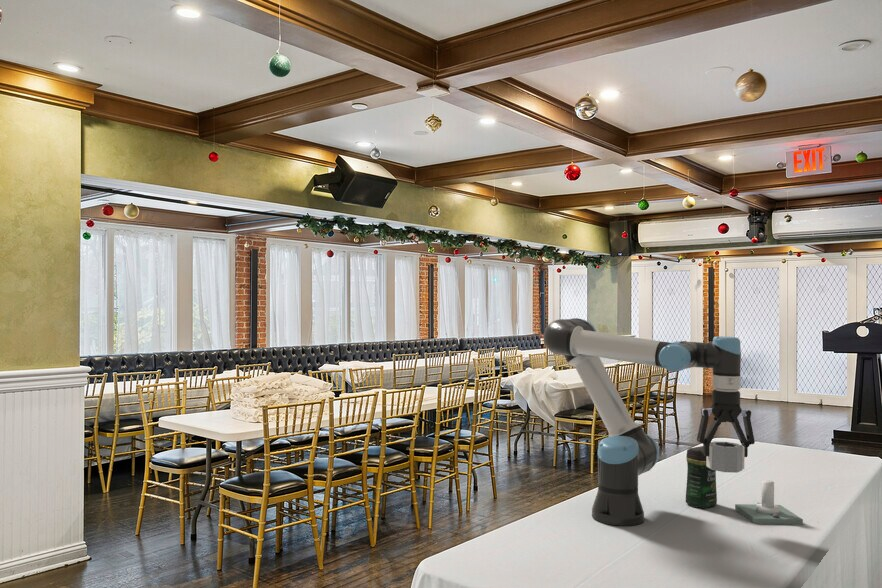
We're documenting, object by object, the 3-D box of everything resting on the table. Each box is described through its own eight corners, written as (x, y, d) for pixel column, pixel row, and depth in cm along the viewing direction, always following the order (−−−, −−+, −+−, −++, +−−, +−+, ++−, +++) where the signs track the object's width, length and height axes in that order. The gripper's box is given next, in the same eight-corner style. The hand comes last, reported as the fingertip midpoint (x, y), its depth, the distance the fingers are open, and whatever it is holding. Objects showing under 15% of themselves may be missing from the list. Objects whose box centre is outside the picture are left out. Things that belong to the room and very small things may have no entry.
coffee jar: (703, 510, 211) (703, 450, 211) (681, 504, 218) (681, 446, 218) (721, 505, 217) (721, 447, 217) (699, 499, 223) (699, 442, 223)
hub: (715, 472, 193) (716, 447, 193) (705, 464, 202) (705, 441, 202) (745, 472, 193) (746, 448, 193) (734, 465, 201) (734, 441, 202)
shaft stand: (754, 523, 199) (754, 487, 199) (735, 508, 213) (735, 475, 213) (802, 524, 198) (802, 488, 198) (780, 509, 212) (780, 476, 212)
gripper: (693, 390, 194) (692, 470, 194) (769, 392, 193) (767, 471, 193) (685, 387, 202) (684, 463, 202) (757, 388, 201) (756, 465, 201)
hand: (725, 467), depth 197 cm, fingers closed on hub, 8 cm apart
